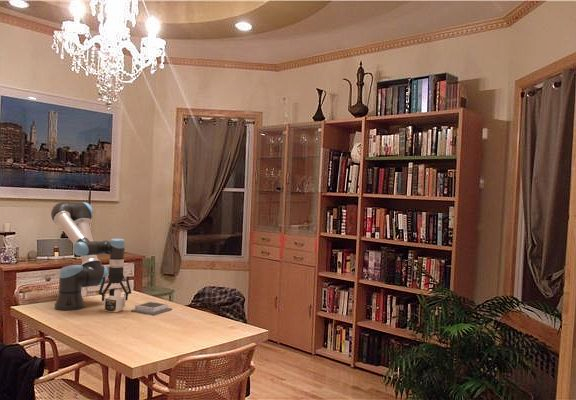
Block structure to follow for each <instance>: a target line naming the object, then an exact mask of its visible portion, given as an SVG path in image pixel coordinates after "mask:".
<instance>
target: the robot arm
mask: <svg viewBox="0 0 576 400" xmlns="http://www.w3.org/2000/svg"><path fill="white" fill-rule="evenodd" d="M50 211H51V213H50V216H51V219H52V221H53V223H54V224H56V226H58V227H60V229H61V230H62V232H63V233H65V235H66V236H67V237H68V239H69V240H70V241H71V243H72V244H73V252H74V255H76V256H78V257H79V256H80V258H81V264H72V265H71V264H70V265H66V266H63V267H61V268H60V270H59V275H58V276H59V282H58V284H59V285H58V295H57V298H56V300H55V303H54V309H55V310H58V311H75V310H80V309H84V307H85V301H84V298H83V294H82V291H83V290H82V289H83V288H89V287H98V286H100V288H99V289H98V290H99V291H98V295H101V302H103V308H105V300H106V298H107V296H106V295H107V294H106V293H107V291H108V289H109V288H110V287H111V285H112V284H113V285H114V284H119V285H120V286H121V289H122V290H123V292H124V294H123V297H124V307H123V308H125V307H126V301H128V298H129V297H128V296H129V295H131V294H132V289H131V286H130V285H131V284H130V281H129V280H130V276H129V275H124V266H125V264H124V263H125V262H124V261H125V248H126V245H125V244H126V241H125V239H123V238H111V239H110V240H107V239H103V240H98V241H97V240H95V241H94V239H93V235H92V231H91V228H90V224H91V221H92V219H93V216H94V215H93V214H94V212H93V211H94V210H93V207H92V206H91V204H90V203H89V202H86V201H85V202H84V201H59V202H58V203H56V204H55V205H54V206H53V207H52V209H51V210H50ZM98 255H99V256H100V255H109V262H108V263H109V265H108V266H109V268H108V267H107V266H106V265H104V264H102V261H101V260H100V259H99V258H98ZM123 279H124V280H125V281H126V287H127V289H126V287H125V285H124V283H123ZM107 280H108V283H107V285H106V287H105V288H104V286H105V283H106V282H107ZM127 290H128V291H127Z"/></svg>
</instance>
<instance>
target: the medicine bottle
mask: <svg viewBox="0 0 576 400" xmlns="http://www.w3.org/2000/svg"><path fill="white" fill-rule="evenodd" d="M121 294H122V289H120V288H118V287H117V288H111V289H109V295H108V296H109V297H108V296H107V297H106V300H105V307H104V311H105V312H110V313H118V312H121V311H123V310H124V308H125V307H124V296H122V295H121Z"/></svg>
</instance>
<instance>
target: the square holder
mask: <svg viewBox="0 0 576 400" xmlns="http://www.w3.org/2000/svg"><path fill="white" fill-rule="evenodd" d="M134 306H135V307H134V308H133V309H130V312H132V313H137V314H144V315H147V316H148V315H149V316H157V315H160V314H163V313H166V312H169V311H172V310H173V308H171V307H169V304H168V303H164V302H156V301H147V302H143V303H140V304H139V303H138V304H136V305H134Z"/></svg>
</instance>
